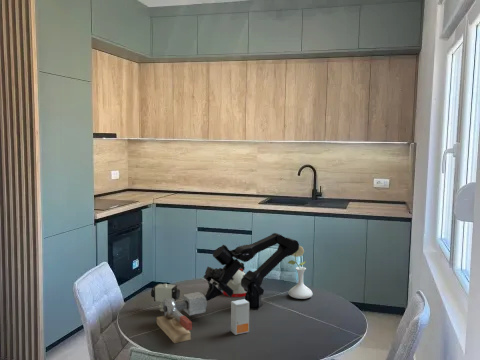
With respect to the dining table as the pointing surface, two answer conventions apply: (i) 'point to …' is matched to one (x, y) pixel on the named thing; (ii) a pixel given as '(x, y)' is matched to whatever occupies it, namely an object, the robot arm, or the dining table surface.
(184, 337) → the oak cradle
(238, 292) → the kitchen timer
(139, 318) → the dining table surface
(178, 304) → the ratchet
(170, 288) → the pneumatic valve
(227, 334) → the dining table surface
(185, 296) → the cube on metal disc
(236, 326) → the skincare box
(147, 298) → the dining table surface
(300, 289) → the flower in vase
